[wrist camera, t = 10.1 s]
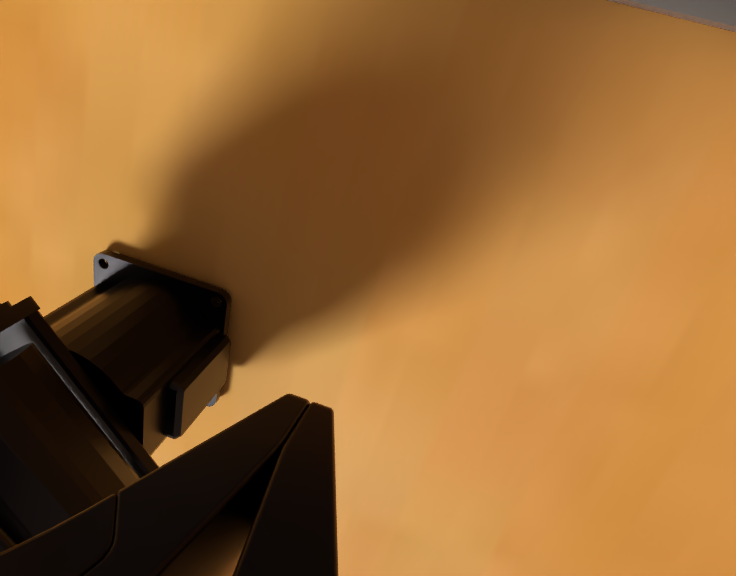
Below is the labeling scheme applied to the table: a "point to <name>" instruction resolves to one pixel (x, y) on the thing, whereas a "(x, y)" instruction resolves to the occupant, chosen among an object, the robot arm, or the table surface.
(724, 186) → the table surface
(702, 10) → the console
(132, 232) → the table surface
